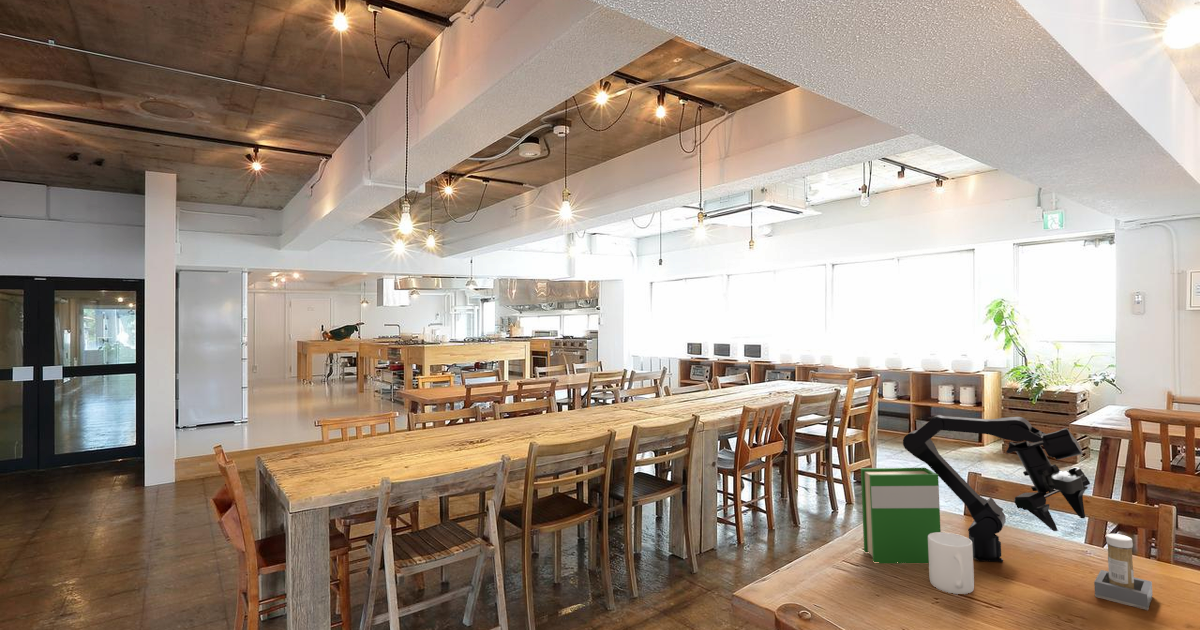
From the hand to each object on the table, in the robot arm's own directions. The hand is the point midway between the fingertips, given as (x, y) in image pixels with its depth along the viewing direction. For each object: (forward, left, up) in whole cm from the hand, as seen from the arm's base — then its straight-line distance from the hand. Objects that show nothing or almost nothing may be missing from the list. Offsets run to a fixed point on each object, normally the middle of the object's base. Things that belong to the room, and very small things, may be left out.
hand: (1069, 524), depth 145 cm
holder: (+4, -11, -13) cm, 18 cm away
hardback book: (-38, +8, -13) cm, 41 cm away
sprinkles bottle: (+4, -11, -12) cm, 17 cm away
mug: (-32, -10, -13) cm, 36 cm away
